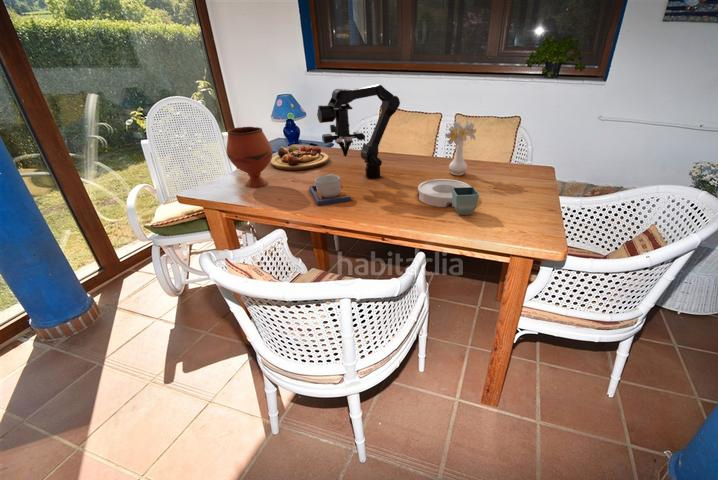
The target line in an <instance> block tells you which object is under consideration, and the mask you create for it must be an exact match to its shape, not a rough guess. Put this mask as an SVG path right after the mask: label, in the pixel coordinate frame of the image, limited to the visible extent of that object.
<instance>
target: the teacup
mask: <svg viewBox="0 0 718 480" xmlns="http://www.w3.org/2000/svg"><path fill="white" fill-rule="evenodd" d="M314 183H315V184H314V185H316V188H317V190H316V191H317V194H318V195H319V196H320V197H321V198H323V199H332V198H337V197H338V196H339V194H340V193H341V192H342V183H341V176H339V175H337V174H333V173H329V174H325V175H320V176H318V177H316V178H315V179H314Z"/></svg>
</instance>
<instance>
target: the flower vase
mask: <svg viewBox="0 0 718 480" xmlns="http://www.w3.org/2000/svg"><path fill="white" fill-rule="evenodd" d="M474 126H475V125H474V123H472V122H469V121H468V120H467V119H465V125H464V126H463V125H462V124H461V121H454V122H453V125H451V126H450V127H449V128H448V131H449V133H445V135H444V136H445V137H446V138H447V139H449V140H448V142H447V143H448V145H449V146H450V145H452V144H453V143H454V144H455V145H456V150H455V156H454V158H453V160H452V161H451V162H450V163H449V165H448V169H449V171H450V172H451V175H453V176H464V175H465V172H466V171H467V170H468V164H467V162H466V161H465V159H464V153H463V152H464V143H465V142H466V141H467V137H469V139H470V140H471V141H472V140H473V141H475V140H476V135H475V134H476V133H477V129H476V128H474Z"/></svg>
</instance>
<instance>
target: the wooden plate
mask: <svg viewBox="0 0 718 480" xmlns="http://www.w3.org/2000/svg"><path fill="white" fill-rule="evenodd" d="M329 160H330V157H329V155H328V154H327V153H325V152H322V148H321V147H320V146H314V145H313V146H312V147H311V146H306V145H302V146H301V147H300V148H299V147H298V146H297V145H295V144H292V145H290V146H289V148H288V150H287V148H285V147H283V146H280V147H279V148H278V150H277V155H275V156H274V157H272V159H271V161H270V163H269V164H270V165H271V166H272V168H275V169H279V170H288V171H299V170H309V169H314V168H319V167H321V166H324V165H325V164H327V163H328V162H329Z"/></svg>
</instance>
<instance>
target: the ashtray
mask: <svg viewBox="0 0 718 480" xmlns="http://www.w3.org/2000/svg"><path fill="white" fill-rule="evenodd" d="M460 187H472V186H471V185H470V184H468V183H466V182H463V181H461V180H456V179H449V178H438V179H429V180H426V181H425V180H424V181H423V182H421V183H419V184H418V186H417V196H418V200H419V201H420V202H422V203H424V204H426V205H429V206H433V207H438V208H446V207H448V206H450V205H451V207H452V208H455V207H454V204H453V199H452V188H460Z"/></svg>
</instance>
